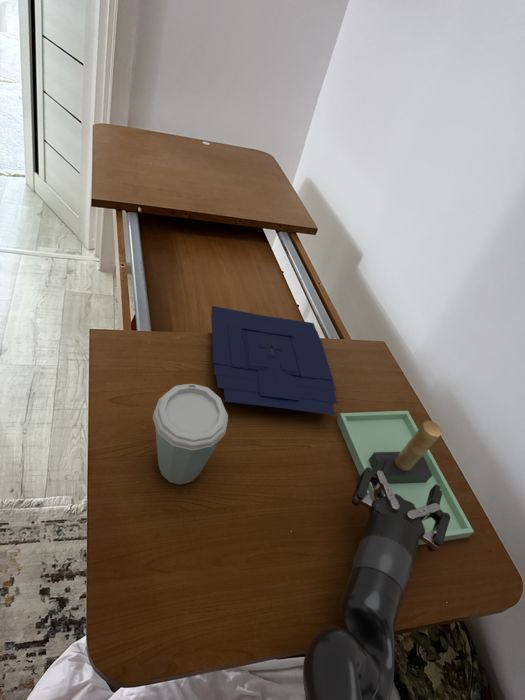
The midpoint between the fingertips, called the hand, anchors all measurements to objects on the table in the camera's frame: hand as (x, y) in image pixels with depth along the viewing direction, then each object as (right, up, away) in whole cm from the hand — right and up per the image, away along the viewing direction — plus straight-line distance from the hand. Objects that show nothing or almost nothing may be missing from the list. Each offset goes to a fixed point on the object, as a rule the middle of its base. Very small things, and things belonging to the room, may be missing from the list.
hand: (411, 473), depth 81 cm
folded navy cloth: (-23, +17, +22) cm, 36 cm away
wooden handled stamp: (0, -2, +10) cm, 10 cm away
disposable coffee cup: (-38, +1, -1) cm, 38 cm away
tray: (0, -3, +10) cm, 10 cm away
